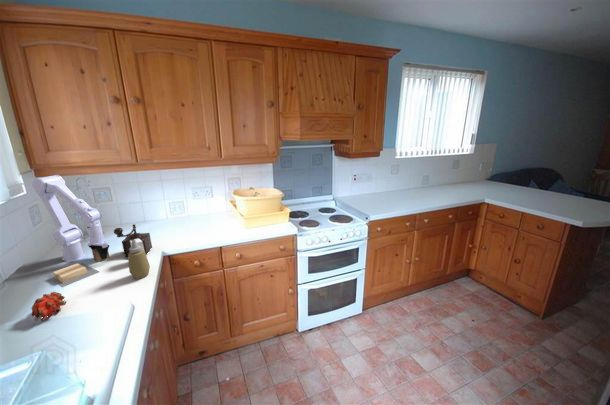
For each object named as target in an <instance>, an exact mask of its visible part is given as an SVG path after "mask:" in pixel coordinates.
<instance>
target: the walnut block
mask: <svg viewBox="0 0 610 405" xmlns="http://www.w3.org/2000/svg"><path fill="white" fill-rule="evenodd" d="M91 253H92V257H93V260H94V261H96V262H97V263H100V262H103V261H106V260H109V259H110V258H111V256H110V252H109V250H108V251H107V258H106V259H103V260H102V259H101V257H100V255H99V253H98V251H97V250H96V249H94V250H92V249H91Z"/></svg>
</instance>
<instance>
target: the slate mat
mask: <svg viewBox="0 0 610 405" xmlns="http://www.w3.org/2000/svg"><path fill="white" fill-rule="evenodd" d="M79 264H80V265H82V266H84V267H85V268H86V269H87V273H88V274H85V275H83V276H80V277H78V278H75V279H73V280H70V281H68V282H65V283H62V282H61V281H59V280H57V279H56V278H55V277H54V273H52V274H49V275H46V278H48V279H49V280H50V281H52V282H53V283H55V284H57V285H58V286H60V287H61V288H64V287H67V286H69V285H72V284H74V283H77V282H78V281H81V280H84V279H86V278H88V277H91V276H94V275H97V274H99V273H100V271H99V270H97V269H95V268H93V267H91V266H89V265H87V264H86V263H83V262H82V263H79Z"/></svg>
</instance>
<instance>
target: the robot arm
mask: <svg viewBox="0 0 610 405" xmlns="http://www.w3.org/2000/svg"><path fill="white" fill-rule="evenodd" d="M32 187H33V189H34V190H35V192H36V195H37V196H38V197H39V198H40V200H41V202H42V203H43V205H44V208H45V209H46V211H47V213H48V214H49V215H50V218H51V219H52V222H53V223H54V225H55V227H56V229H55V230H54V231H53V232H52V234H53V236H54V240H55V243H56V244H57V245H59V246H60V249H61V252H62V256H63V257H62V258H61V260H63V261H65V262H68V263H71V262H74V261H77V260H80V259H83V258H87V257H88V254H85V253H84V251H83V247H82V244H81V241H82V238H83V232H82V230H81V229H80V227H78V225H76V224H74V223H71V222H70V220H69V219H68V216H67V215H66V213H65V211H64V210H63V207H62V206H61V204H60V202H59V200H58V198H57V197H56V194H58V195H60V196H61V197H62V198H63V199H65V200H66V201H67V202H68V203H70V204H69V206H70V208H71V209H72V210H74V212H76V213H77V214H78V215H79V216H80V218H79V219H80V221H81V222H82V223H83V225H84V227H86V232H87V234H88V241H89V242H88V243H87V246H88V247H89V249H91V251H92V250H94V249H96V250H97V251H98V253H99V255H100V257H101V259H102V260H103V259H106V258H107V251H108V252H109V247H110V245H109V244H108V243H107V242H106V239H105V237H104V231H103V229H102V225H101V219H102V212H101V211H100V210H99V209H98V208H94V207H91V205H90V204H88V203H87V202H86V201H85V200H84V199H82V198H78V197H77V196H76V195H75V194H74V193H73V192H72V191H71V189H70V188H68V186H66V180H64V179H63V177H62V176H60V174H54V175H50V176H43V177H35V178H34V179H33V181H32ZM106 260H107V259H106ZM103 261H104V260H103Z"/></svg>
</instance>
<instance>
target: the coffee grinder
mask: <svg viewBox="0 0 610 405" xmlns="http://www.w3.org/2000/svg"><path fill="white" fill-rule="evenodd" d="M123 232H124V230H123V228H122V227H117V228H114V229H113V234H114V235H116V238H124V239H123V240H122V241H121V244H122V250H123V253H124V257H125V258H128V254H129V253H130V250H129V248H131V244H130V241H131V240H134V239H138V238H139V239H140V240H141V241H142V243H143V247H144V251H145V253H146V256H147V255H148V254H149V253H150V252H151V250H152V249H153V245H152V238H151V235H150V232H141V233H140V232H137V226H136V224H132V229H131V231H130V232H129V233H127V234H124V233H123ZM151 248H152V249H151ZM150 249H151V250H150ZM148 252H149V253H148ZM147 253H148V254H147Z"/></svg>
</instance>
